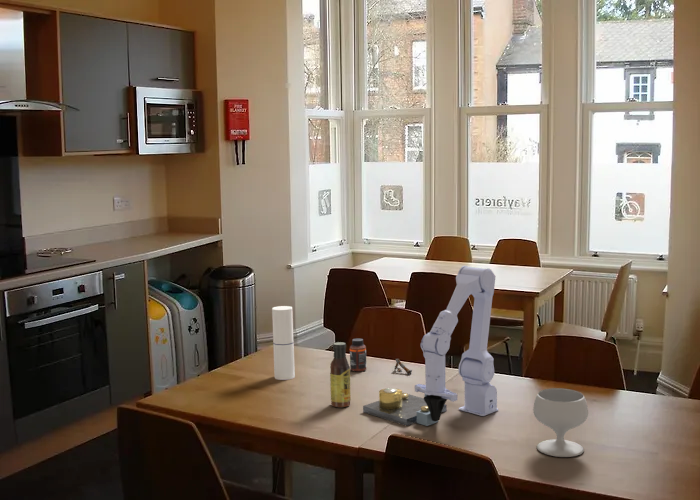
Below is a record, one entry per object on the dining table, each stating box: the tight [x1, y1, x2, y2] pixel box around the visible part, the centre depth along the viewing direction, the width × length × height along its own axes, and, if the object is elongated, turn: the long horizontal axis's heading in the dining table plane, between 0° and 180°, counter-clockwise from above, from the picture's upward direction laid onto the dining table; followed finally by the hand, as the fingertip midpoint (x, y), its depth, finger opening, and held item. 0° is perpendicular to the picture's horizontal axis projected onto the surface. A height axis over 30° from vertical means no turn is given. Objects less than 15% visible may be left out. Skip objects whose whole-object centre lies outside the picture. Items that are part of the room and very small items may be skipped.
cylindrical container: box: [271, 305, 296, 381], centre depth 285 cm, size 7×7×25 cm
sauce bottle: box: [329, 341, 352, 409], centre depth 252 cm, size 6×6×20 cm
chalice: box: [532, 387, 589, 458], centre depth 212 cm, size 14×14×15 cm
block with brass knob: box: [416, 406, 439, 427], centre depth 235 cm, size 4×5×4 cm
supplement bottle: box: [349, 338, 367, 373], centre depth 293 cm, size 6×6×11 cm
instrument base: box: [362, 387, 448, 427], centre depth 245 cm, size 18×18×7 cm
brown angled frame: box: [394, 358, 413, 376], centre depth 289 cm, size 2×8×4 cm, turn 38°
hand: (435, 420), depth 233 cm, fingers closed
